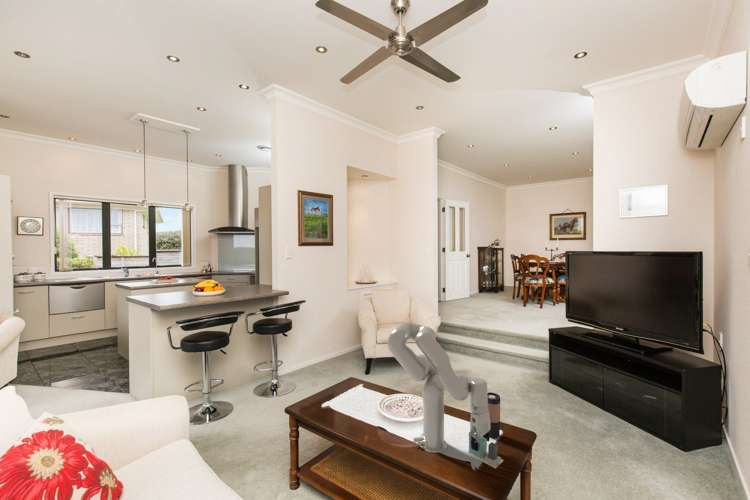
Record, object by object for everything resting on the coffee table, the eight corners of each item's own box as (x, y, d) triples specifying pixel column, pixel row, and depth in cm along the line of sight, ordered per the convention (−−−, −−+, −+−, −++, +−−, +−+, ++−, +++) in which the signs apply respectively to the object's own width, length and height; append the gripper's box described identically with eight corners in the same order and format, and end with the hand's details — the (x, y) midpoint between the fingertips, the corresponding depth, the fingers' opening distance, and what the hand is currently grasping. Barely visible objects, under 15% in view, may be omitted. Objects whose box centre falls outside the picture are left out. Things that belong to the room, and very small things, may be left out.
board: (495, 470, 142) (495, 468, 142) (466, 455, 152) (466, 453, 152) (503, 461, 147) (503, 460, 147) (475, 447, 157) (475, 446, 157)
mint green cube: (480, 458, 148) (480, 444, 148) (468, 452, 152) (469, 438, 152) (486, 453, 152) (486, 438, 152) (475, 447, 156) (475, 433, 156)
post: (495, 465, 144) (495, 449, 143) (484, 460, 147) (485, 444, 147) (500, 460, 147) (500, 445, 147) (490, 455, 150) (490, 440, 150)
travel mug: (501, 441, 162) (501, 400, 162) (484, 439, 164) (485, 398, 163) (498, 432, 170) (499, 393, 169) (482, 430, 171) (483, 391, 171)
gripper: (476, 417, 143) (478, 457, 143) (496, 403, 155) (497, 439, 155) (461, 411, 148) (462, 450, 149) (481, 398, 160) (482, 433, 160)
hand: (480, 444), depth 152 cm, fingers open, 9 cm apart
